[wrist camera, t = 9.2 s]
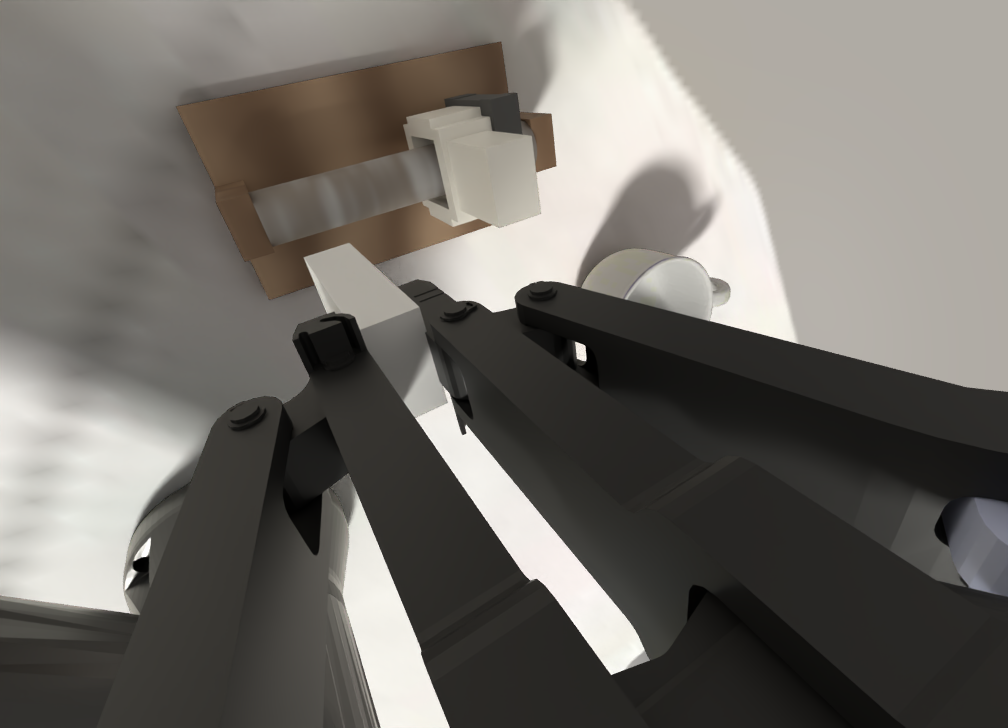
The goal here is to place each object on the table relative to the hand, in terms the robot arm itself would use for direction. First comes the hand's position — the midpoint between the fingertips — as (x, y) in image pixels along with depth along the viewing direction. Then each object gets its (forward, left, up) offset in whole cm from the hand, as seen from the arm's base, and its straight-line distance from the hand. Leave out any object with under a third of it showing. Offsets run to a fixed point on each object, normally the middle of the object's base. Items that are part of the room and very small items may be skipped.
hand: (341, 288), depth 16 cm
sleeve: (+9, 0, -15) cm, 18 cm away
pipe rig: (+6, 0, -17) cm, 18 cm away
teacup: (+25, -16, -18) cm, 35 cm away
